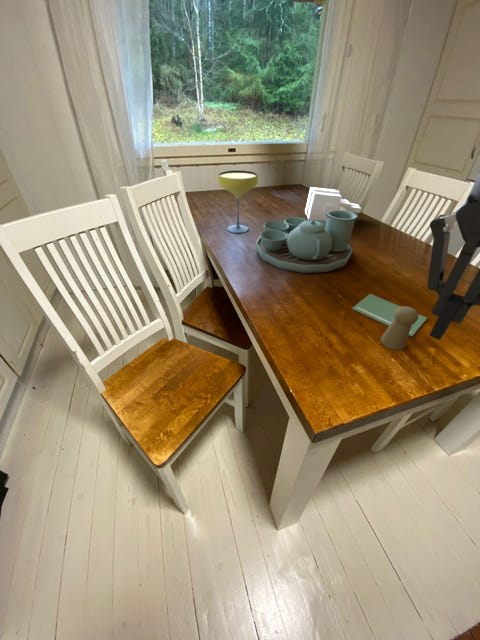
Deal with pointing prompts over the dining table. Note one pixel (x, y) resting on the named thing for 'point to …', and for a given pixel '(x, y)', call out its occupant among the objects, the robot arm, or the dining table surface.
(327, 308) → the dining table surface
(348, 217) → the tea set
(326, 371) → the dining table surface
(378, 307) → the cloth
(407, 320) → the cork
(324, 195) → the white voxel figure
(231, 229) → the cocktail glass
